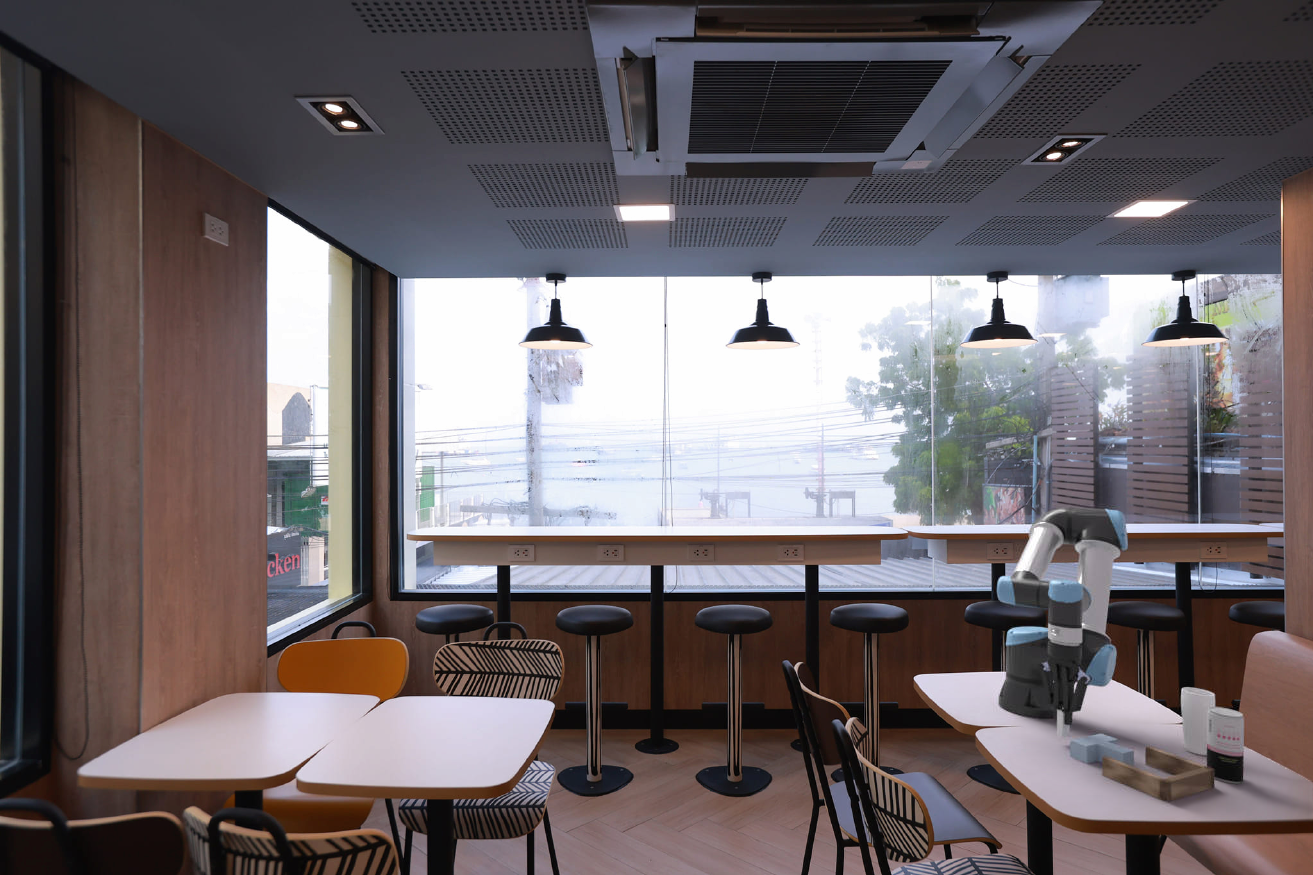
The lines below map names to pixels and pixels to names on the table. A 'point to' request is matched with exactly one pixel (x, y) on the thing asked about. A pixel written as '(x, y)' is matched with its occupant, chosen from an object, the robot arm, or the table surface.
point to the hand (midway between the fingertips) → (1063, 736)
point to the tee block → (1100, 749)
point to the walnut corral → (1182, 784)
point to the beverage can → (1225, 744)
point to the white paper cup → (1195, 718)
